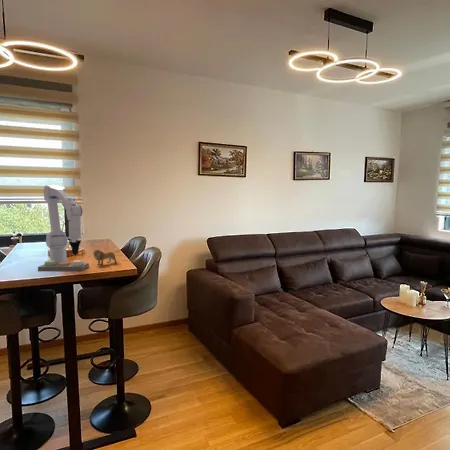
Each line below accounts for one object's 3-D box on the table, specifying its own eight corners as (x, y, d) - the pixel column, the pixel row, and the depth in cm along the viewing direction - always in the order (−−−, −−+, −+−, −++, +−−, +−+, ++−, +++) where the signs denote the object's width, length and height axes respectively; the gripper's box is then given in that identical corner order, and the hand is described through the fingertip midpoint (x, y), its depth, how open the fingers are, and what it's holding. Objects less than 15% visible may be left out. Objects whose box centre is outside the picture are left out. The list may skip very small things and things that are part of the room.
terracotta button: (62, 266, 178) (61, 262, 178) (69, 266, 179) (69, 262, 178) (58, 268, 174) (58, 263, 174) (66, 268, 175) (66, 263, 174)
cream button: (75, 265, 179) (75, 260, 179) (83, 265, 179) (83, 260, 179) (72, 266, 175) (72, 261, 175) (80, 266, 175) (80, 261, 175)
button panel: (47, 266, 181) (47, 263, 181) (88, 266, 182) (88, 263, 182) (38, 270, 171) (37, 266, 171) (82, 270, 172) (82, 266, 172)
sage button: (48, 265, 178) (48, 260, 178) (56, 265, 178) (56, 260, 178) (44, 266, 174) (44, 261, 174) (52, 266, 174) (52, 261, 174)
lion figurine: (97, 266, 182) (97, 250, 182) (91, 265, 185) (90, 249, 185) (119, 262, 195) (119, 247, 194) (113, 261, 198) (113, 246, 197)
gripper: (67, 227, 181) (68, 252, 182) (64, 230, 167) (65, 257, 168) (82, 227, 183) (82, 252, 184) (80, 229, 169) (80, 256, 170)
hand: (75, 254), depth 176 cm, fingers closed
